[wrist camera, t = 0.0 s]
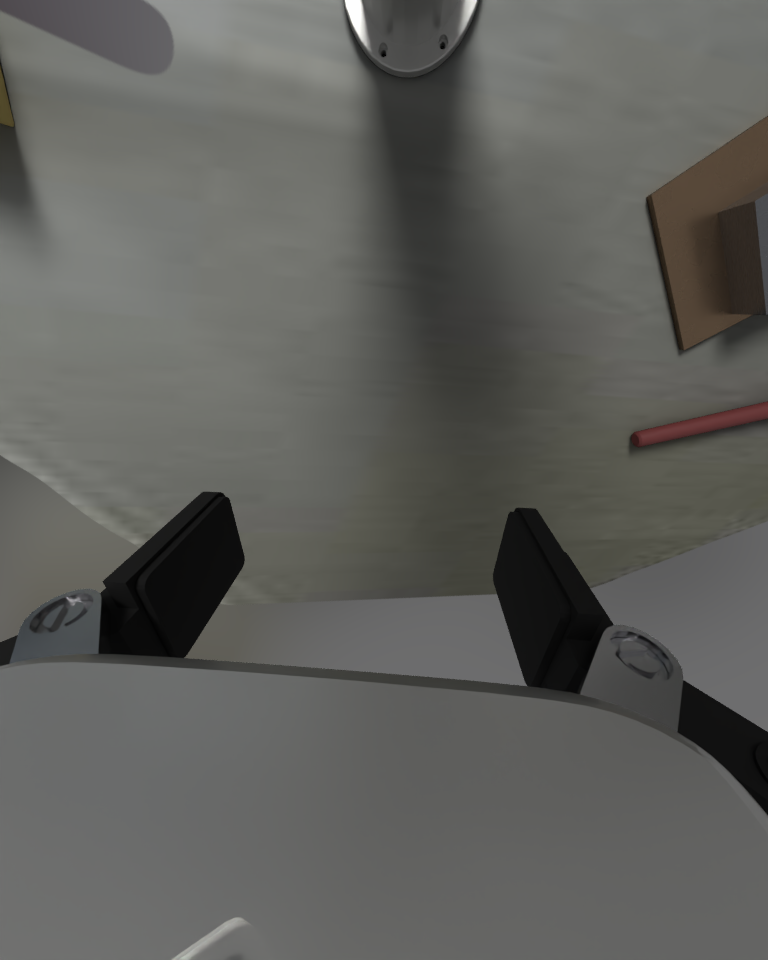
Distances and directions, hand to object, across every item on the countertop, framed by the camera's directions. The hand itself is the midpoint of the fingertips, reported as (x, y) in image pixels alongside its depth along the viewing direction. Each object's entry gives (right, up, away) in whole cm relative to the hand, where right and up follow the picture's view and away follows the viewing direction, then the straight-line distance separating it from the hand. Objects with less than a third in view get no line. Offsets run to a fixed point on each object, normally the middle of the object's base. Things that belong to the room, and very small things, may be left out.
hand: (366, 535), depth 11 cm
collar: (+43, +30, +23) cm, 57 cm away
